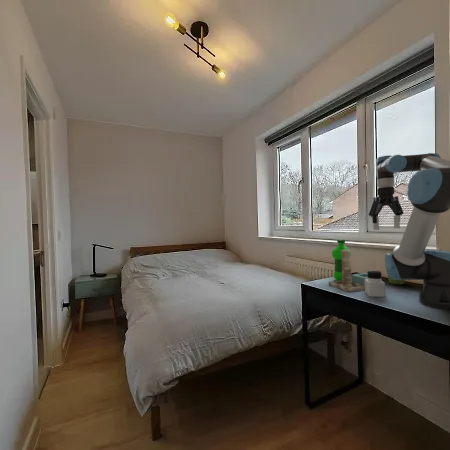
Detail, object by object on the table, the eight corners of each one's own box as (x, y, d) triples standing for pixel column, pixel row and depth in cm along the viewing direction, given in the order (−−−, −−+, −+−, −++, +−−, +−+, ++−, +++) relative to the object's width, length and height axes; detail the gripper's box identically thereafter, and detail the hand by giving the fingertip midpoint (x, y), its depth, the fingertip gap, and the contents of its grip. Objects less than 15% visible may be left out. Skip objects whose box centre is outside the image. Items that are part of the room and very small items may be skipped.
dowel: (353, 287, 147) (352, 250, 147) (346, 288, 146) (345, 250, 145) (347, 285, 151) (346, 249, 151) (340, 286, 150) (339, 250, 149)
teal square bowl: (379, 287, 147) (379, 276, 146) (365, 289, 144) (365, 278, 144) (365, 283, 156) (365, 272, 156) (351, 285, 153) (351, 274, 153)
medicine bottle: (385, 297, 130) (385, 272, 129) (369, 297, 131) (368, 272, 131) (380, 293, 137) (379, 269, 136) (364, 293, 138) (364, 269, 138)
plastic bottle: (332, 283, 160) (330, 240, 159) (334, 278, 169) (333, 238, 168) (350, 284, 155) (349, 240, 154) (352, 280, 164) (351, 238, 163)
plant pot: (414, 285, 147) (414, 264, 146) (392, 286, 147) (391, 265, 146) (400, 280, 158) (400, 261, 158) (380, 281, 159) (379, 262, 158)
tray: (366, 290, 143) (366, 286, 142) (349, 293, 139) (349, 288, 139) (344, 283, 158) (344, 279, 158) (328, 285, 154) (328, 281, 154)
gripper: (397, 187, 146) (398, 227, 147) (360, 188, 138) (361, 230, 139) (411, 185, 139) (412, 227, 139) (372, 186, 131) (373, 230, 132)
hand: (386, 229), depth 139 cm, fingers open, 13 cm apart
